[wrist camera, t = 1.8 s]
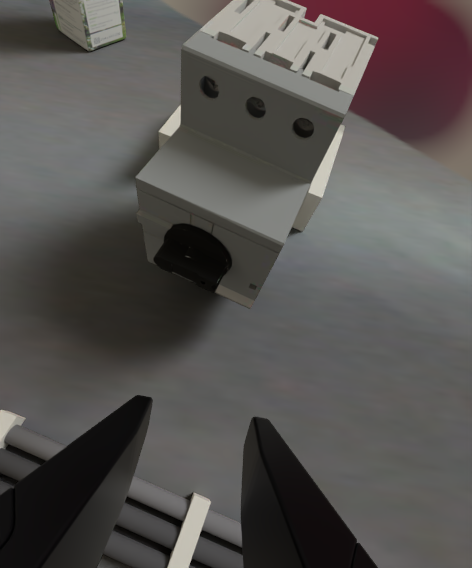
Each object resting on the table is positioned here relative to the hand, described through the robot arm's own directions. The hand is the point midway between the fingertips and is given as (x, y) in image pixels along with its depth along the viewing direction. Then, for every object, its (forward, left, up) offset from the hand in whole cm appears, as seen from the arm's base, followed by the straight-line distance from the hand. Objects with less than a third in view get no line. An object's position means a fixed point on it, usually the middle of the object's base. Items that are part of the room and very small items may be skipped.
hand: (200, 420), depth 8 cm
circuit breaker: (+14, +3, -14) cm, 20 cm away
